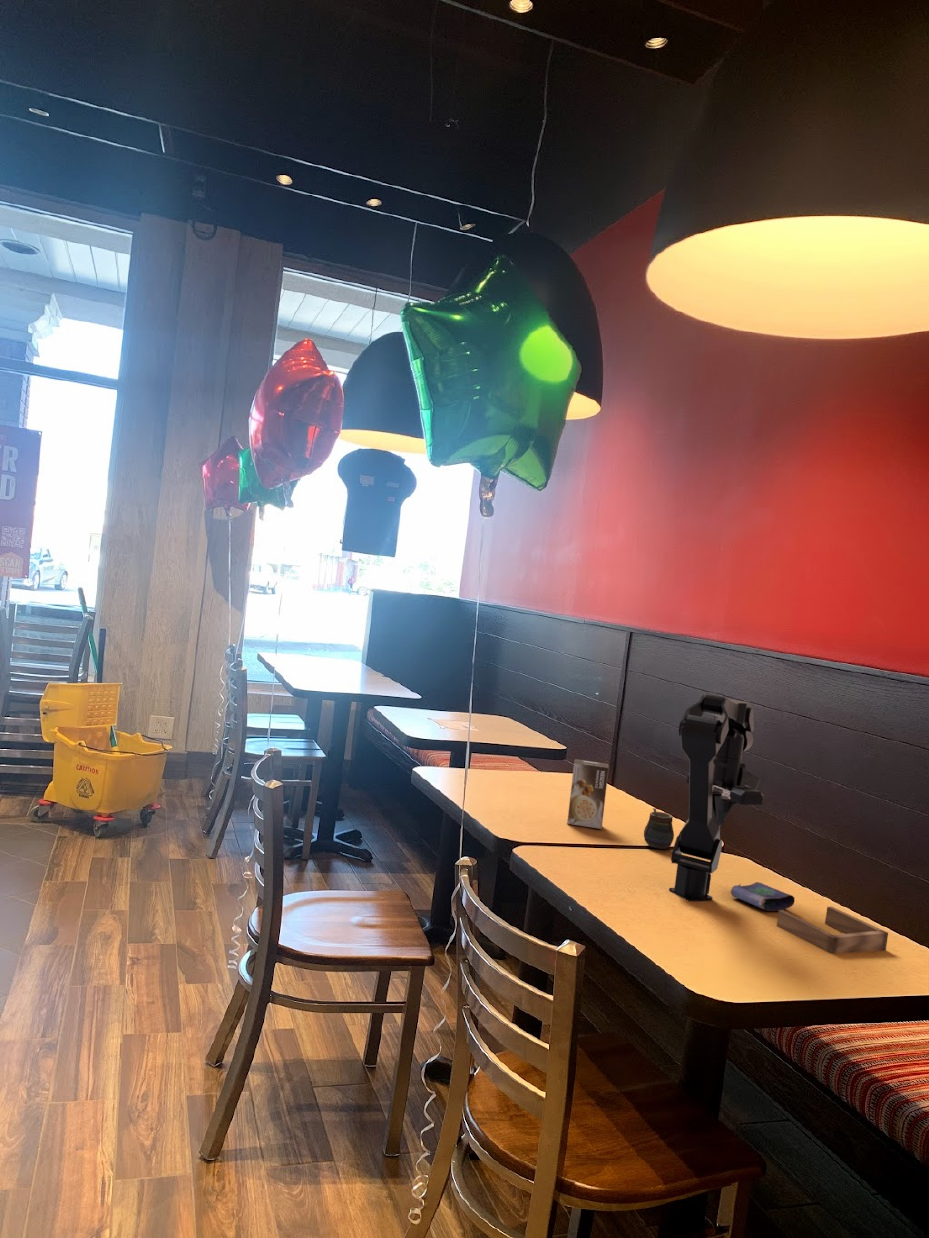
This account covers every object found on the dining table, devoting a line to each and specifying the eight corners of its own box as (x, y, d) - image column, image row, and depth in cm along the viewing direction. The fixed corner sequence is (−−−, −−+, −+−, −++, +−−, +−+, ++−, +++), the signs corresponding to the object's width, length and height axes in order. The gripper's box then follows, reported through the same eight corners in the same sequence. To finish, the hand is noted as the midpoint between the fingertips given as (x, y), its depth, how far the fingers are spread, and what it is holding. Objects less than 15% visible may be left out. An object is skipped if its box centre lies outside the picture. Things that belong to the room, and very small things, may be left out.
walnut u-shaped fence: (831, 957, 165) (833, 938, 165) (776, 928, 177) (778, 910, 176) (885, 951, 171) (888, 932, 171) (829, 923, 183) (831, 906, 183)
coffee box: (602, 823, 242) (609, 763, 241) (601, 829, 235) (609, 768, 235) (567, 818, 243) (575, 758, 242) (566, 823, 237) (573, 762, 236)
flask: (763, 898, 183) (723, 883, 192) (762, 913, 183) (723, 896, 192) (795, 894, 188) (755, 878, 197) (794, 908, 188) (754, 892, 197)
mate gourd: (676, 847, 227) (682, 807, 227) (665, 853, 221) (671, 812, 220) (649, 840, 231) (654, 800, 230) (637, 845, 224) (643, 805, 224)
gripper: (786, 766, 197) (777, 838, 198) (727, 747, 214) (718, 813, 215) (747, 766, 193) (737, 839, 193) (689, 746, 209) (680, 813, 210)
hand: (718, 825), depth 203 cm, fingers closed
